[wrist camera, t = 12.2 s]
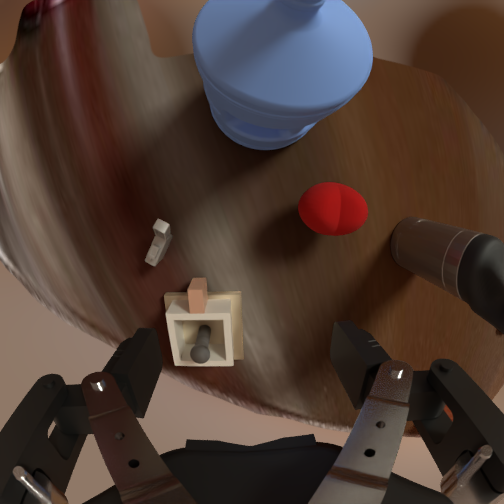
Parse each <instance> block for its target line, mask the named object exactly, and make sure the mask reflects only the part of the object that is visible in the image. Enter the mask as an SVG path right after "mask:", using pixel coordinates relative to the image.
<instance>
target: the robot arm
mask: <svg viewBox="0 0 504 504" xmlns="http://www.w3.org/2000/svg"><path fill="white" fill-rule="evenodd" d="M391 253H392V256H393V259H394V260H395V262H396V263H397V264H398V265H400V266H401V267H403V268H405V269H407V270H409V271H411V272H412V273H414V274H416V275H418V276H420V277H422V278H424V279H425V280H427V281H429V282H431V283H433V284H434V285H436V286H438V287H440V288H442V289H443V290H445V291H447V292H449V293H451V294H452V295H454V296H456V297H458V298H459V299H461V300H463V301H465V302H466V303H468V304H469V306H470V307H471V309H472V310H473V311H474V312H475V313H476V314H478V315H479V316H480V317H482V318H483V319H485V320H486V321H487V322H489V323H490V324H491V325H493V326H494V327H495V328H497V329H498V330H499V331H500V332H502V333H503V334H504V244H503V243H502V241H501V240H500V239H498V238H496V237H494V236H491V235H487V234H483V233H479V232H476V231H472V230H467V229H464V228H460V227H456V226H451V225H447V224H443V223H439V222H434V221H430V220H426V219H421V218H417V217H409V218H406V219H404V220H402V221H401V222H400V223H399V224H398V225H397V227H396V228H395V230H394V232H393V235H392V238H391ZM330 358H331V362H332V365H333V367H334V368H335V370H336V372H337V374H338V376H339V378H340V380H341V382H342V384H343V386H344V388H345V390H346V392H347V394H348V396H349V398H350V400H351V402H352V404H353V406H354V408H355V410H357V409H361V412H360V414H359V416H358V418H357V420H356V422H355V425H354V427H353V429H352V431H351V433H350V435H349V437H348V439H347V441H346V443H345V445H344V447H341V446H338V445H334V444H329V443H323V442H316V440H315V437H314V434H309V435H302V436H295V437H285V438H280V439H278V440H274V441H270V442H266V443H262V444H258V445H254V446H245V445H238V444H232V443H227V442H221V441H212V440H188V439H187V441H186V447H185V448H180V449H176V450H172V451H169V452H166V453H163V454H161V455H159V454H158V453H157V451H156V450H155V448H154V446H153V445H152V443H151V442H150V440H149V439H148V437H147V436H146V434H145V432H144V431H143V429H142V427H141V425H140V424H139V422H138V420H137V419H136V417H137V418H144V416H145V413H146V410H147V408H148V405H149V402H150V399H151V397H152V394H153V391H154V389H155V386H156V383H157V381H158V378H159V375H160V373H161V370H162V363H163V362H162V354H161V350H160V345H159V340H158V335H157V331H156V329H155V328H138V330H137V331H136V333H135V334H134V336H133V337H132V338H128V339H126V340H125V341H123V342H122V343H121V344H120V345H119V347H118V348H117V351H115V353H114V354H113V356H112V357H111V359H110V360H109V361H108V363H107V364H106V366H105V367H104V369H103V370H102V372H95V373H92V374H89V375H88V376H86V377H85V378H84V379H83V381H82V383H81V384H78V385H77V384H76V385H66V384H65V382H64V380H63V378H62V377H61V376H60V375H57V374H48V375H45V376H43V377H41V378H40V379H38V380H37V382H36V383H35V384H34V385H33V387H32V388H31V390H30V391H29V392H28V393H27V395H26V396H25V397H24V399H23V400H22V402H21V403H20V404H19V406H18V407H17V408H16V410H15V411H14V413H13V414H12V415H11V417H10V418H9V420H8V421H7V423H6V424H5V426H4V427H3V429H2V430H1V432H0V504H68V500H67V498H66V496H65V495H64V494H65V492H66V489H67V486H68V483H69V480H70V477H71V475H72V472H73V469H74V467H75V464H76V462H77V459H78V457H79V454H80V451H81V449H82V447H83V444H84V442H85V439H86V437H87V435H88V434H94V436H95V439H96V442H97V444H98V447H99V449H100V452H101V454H102V457H103V459H104V461H105V464H106V466H107V468H108V470H109V473H110V475H111V477H112V479H113V481H114V483H115V485H114V486H112V487H110V488H109V489H107V490H105V491H104V492H102V493H100V494H98V495H97V496H95V497H93V498H91V499H90V500H88V501H86V502H84V503H82V504H497V503H498V502H499V501H500V500H502V499H503V498H504V414H503V413H502V412H501V411H500V409H499V408H498V407H497V406H496V405H495V404H494V403H493V402H492V400H491V399H490V398H489V397H488V396H487V395H486V394H485V393H484V391H483V390H482V389H481V388H480V387H479V386H478V385H477V384H476V383H475V382H474V381H473V380H472V379H471V377H470V376H469V375H468V374H467V373H466V372H465V371H464V370H463V369H462V368H461V367H460V366H459V365H458V364H457V363H456V362H454V361H452V360H449V359H437V360H435V361H434V362H432V364H431V367H430V370H427V371H413V369H412V367H411V366H410V365H409V364H407V363H406V362H403V361H400V360H392V359H391V358H390V356H389V355H388V354H387V353H386V352H385V350H384V349H383V348H382V347H381V346H380V344H379V343H378V342H377V341H375V339H374V337H373V336H372V335H371V334H370V333H368V332H366V331H365V330H363V329H358V328H357V327H356V325H355V324H354V323H353V322H352V321H351V320H347V321H338V322H335V323H334V325H333V332H332V341H331V349H330ZM446 405H447V407H448V408H449V409H450V411H451V412H452V415H453V422H452V420H451V419H450V418H449V416H448V415H447V413H446V412H445V410H444V408H445V406H446ZM53 421H54V422H55V424H56V425H55V427H54V429H53V431H52V433H51V435H50V437H49V439H48V429H49V427H50V425H51V423H52V422H53ZM406 421H413V423H414V425H415V427H416V428H417V430H418V432H419V434H420V435H421V437H422V439H423V441H424V442H425V444H426V446H427V448H428V450H429V452H430V453H431V455H432V457H433V459H434V461H435V463H436V464H437V466H438V468H439V470H440V472H441V474H442V476H443V478H442V480H441V485H440V486H441V493H440V492H438V491H435V490H433V489H430V488H427V487H425V486H422V485H420V484H417V483H415V482H413V481H410V480H408V479H406V478H404V477H401V476H399V475H397V474H395V473H393V472H391V471H392V468H393V465H394V462H395V459H396V456H397V453H398V450H399V446H400V443H401V439H402V436H403V432H404V428H405V424H406Z"/></svg>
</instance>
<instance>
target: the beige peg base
mask: <svg viewBox="0 0 504 504" xmlns="http://www.w3.org/2000/svg"><path fill="white" fill-rule="evenodd" d="M207 295H208V299H231V312H232V330H233V346H234V360H237V359H244V355H243V331H242V305H241V291H227V292H207ZM164 300H165V307H166V312H167V310H168V308H169V306H170V305H171V303H172V301H173V300H188V292H167V293H166V294H165V295H164ZM182 325H183V332H184V339H185V344H195V346H193V347H192V349H191V351H190V357H191V359H192V360H193V361H194V362H195V363H198V364H203V363H205V362H207V361H208V360H209V358H210V351H209V349H208V347H209V344H225V337H224V323H223V320H182Z"/></svg>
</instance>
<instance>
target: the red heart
mask: <svg viewBox="0 0 504 504" xmlns="http://www.w3.org/2000/svg"><path fill="white" fill-rule="evenodd" d="M298 211H299V214H300V217H301V219H302V220H303V222H304V223H305V224H306V225H307V226H308V227H309V228H310V229H312V230H313V231H315V232H317V233H320V234H323V235H333V236H339V235H345V234H349V233H352V232H354V231H356V230H357V229H359V228H360V227H361V226H362V225H363V224H364V223H365V221H366V219H367V215H368V208H367V204H366V202H365V200H364V199H363V197H362V196H361V195H360V194H359V193H358V192H356V191H355V190H354V189H352V188H350V187H348V186H346V185H343V184H339V183H334V182H325V183H320V184H317V185H314V186H313V187H311V188H309V189H308V190H307V191H306V192H305V193H304V194H303V195H302V196H301V198H300V200H299V204H298Z"/></svg>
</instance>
